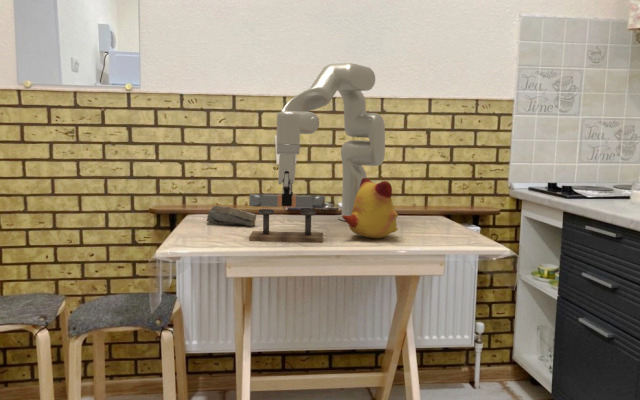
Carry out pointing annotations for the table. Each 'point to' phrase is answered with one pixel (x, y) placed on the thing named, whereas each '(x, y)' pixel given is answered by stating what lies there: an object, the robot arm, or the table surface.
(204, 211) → the table surface
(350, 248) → the table surface
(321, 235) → the rack
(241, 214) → the rock
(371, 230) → the toy
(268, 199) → the two-ball handle bar
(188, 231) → the table surface
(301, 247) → the table surface
